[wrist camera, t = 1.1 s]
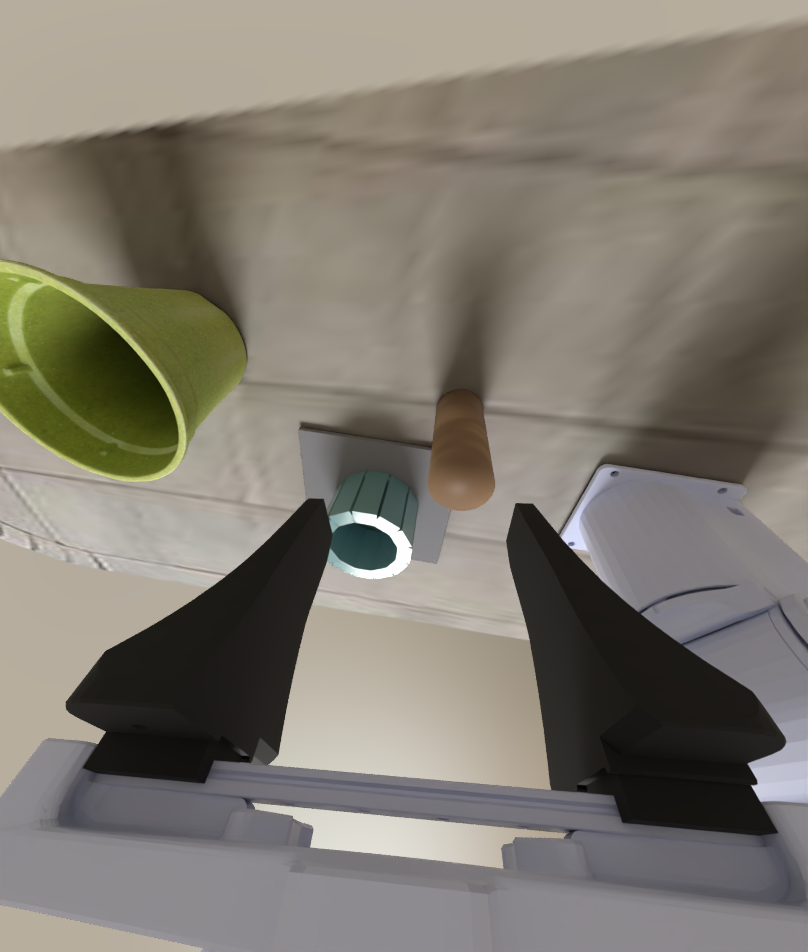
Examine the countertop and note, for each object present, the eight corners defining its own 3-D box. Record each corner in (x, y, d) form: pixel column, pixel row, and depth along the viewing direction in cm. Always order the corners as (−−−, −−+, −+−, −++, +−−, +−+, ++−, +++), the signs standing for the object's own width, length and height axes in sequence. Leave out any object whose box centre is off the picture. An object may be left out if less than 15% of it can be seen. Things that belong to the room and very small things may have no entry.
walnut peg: (487, 393, 20) (503, 463, 13) (476, 435, 22) (485, 515, 15) (440, 386, 20) (433, 453, 14) (432, 428, 22) (423, 505, 15)
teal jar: (422, 479, 24) (416, 521, 20) (412, 540, 28) (405, 585, 24) (334, 464, 24) (312, 504, 20) (337, 527, 28) (319, 569, 24)
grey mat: (464, 452, 22) (464, 455, 22) (437, 560, 30) (436, 563, 29) (300, 427, 23) (298, 429, 23) (312, 538, 30) (311, 542, 30)
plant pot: (230, 236, 17) (68, 230, 10) (295, 403, 22) (221, 476, 15) (94, 273, 19) (-120, 289, 12) (184, 418, 24) (73, 488, 17)
